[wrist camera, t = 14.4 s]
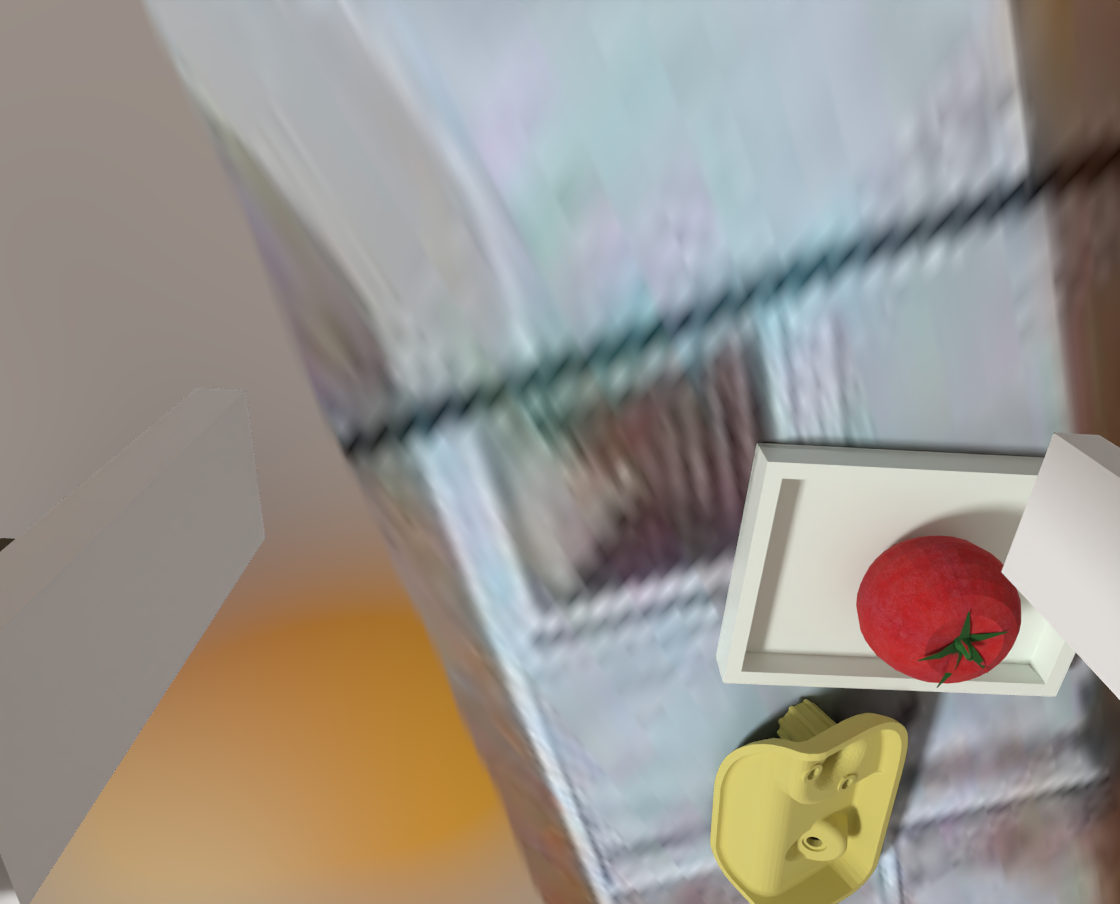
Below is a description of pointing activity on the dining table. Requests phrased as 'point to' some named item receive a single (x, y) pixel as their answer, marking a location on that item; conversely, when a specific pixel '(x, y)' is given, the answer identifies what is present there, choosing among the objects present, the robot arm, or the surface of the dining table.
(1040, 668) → the tray
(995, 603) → the tomato
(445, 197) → the dining table surface
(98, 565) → the robot arm
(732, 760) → the plastic component
